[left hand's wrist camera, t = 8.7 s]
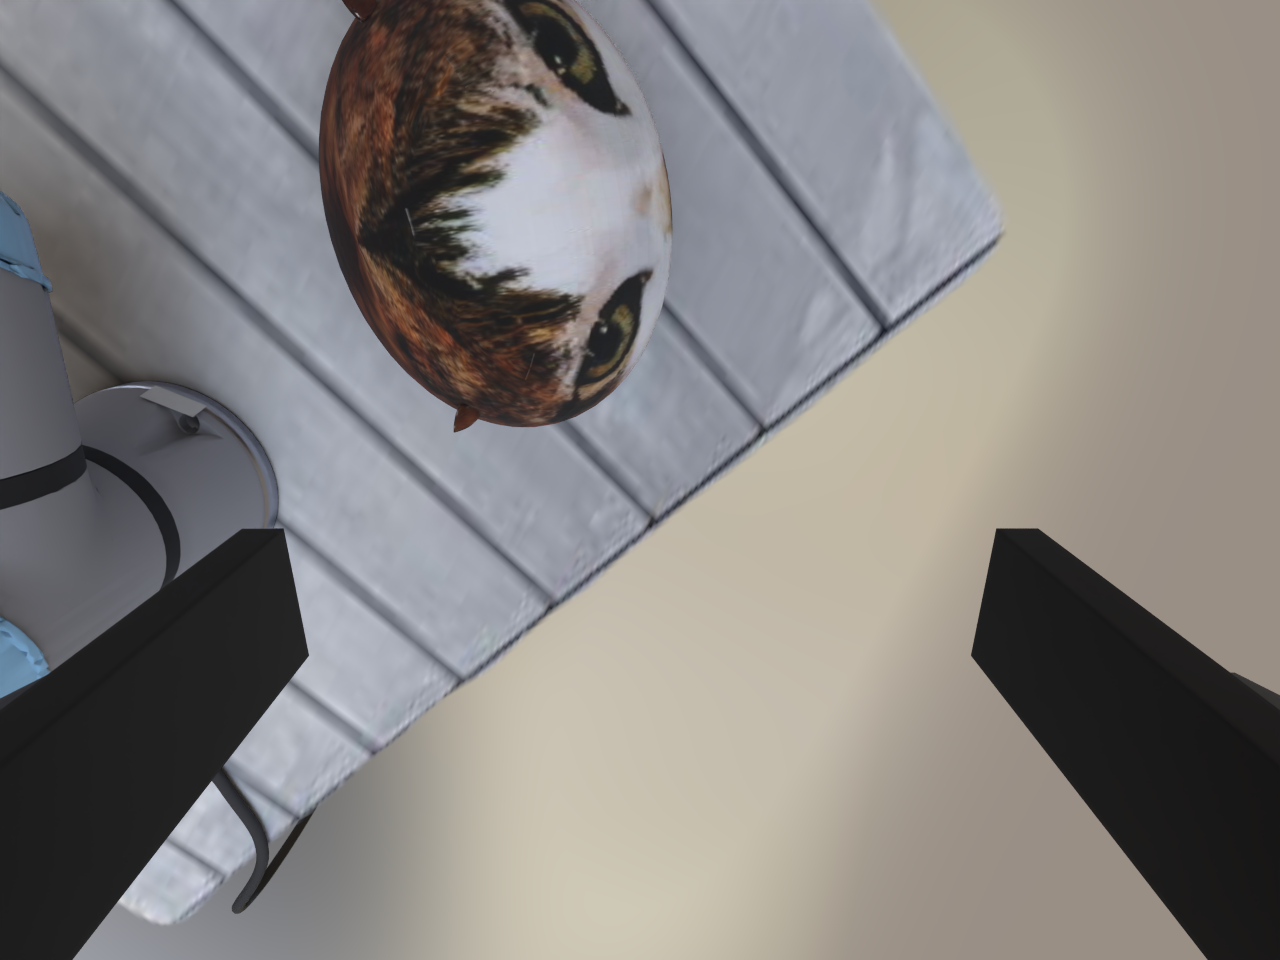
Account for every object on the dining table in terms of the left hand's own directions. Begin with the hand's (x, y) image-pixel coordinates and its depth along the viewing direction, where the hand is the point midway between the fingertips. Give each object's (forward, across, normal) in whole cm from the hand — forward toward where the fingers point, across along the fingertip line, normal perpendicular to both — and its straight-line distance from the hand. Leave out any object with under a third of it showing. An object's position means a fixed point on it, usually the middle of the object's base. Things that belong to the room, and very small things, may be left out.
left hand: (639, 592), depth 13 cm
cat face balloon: (+36, -7, +7) cm, 37 cm away
